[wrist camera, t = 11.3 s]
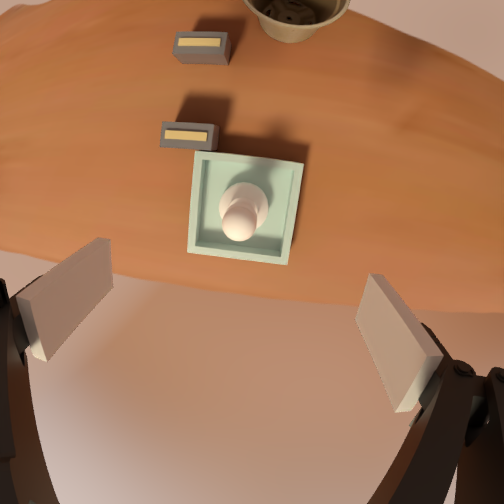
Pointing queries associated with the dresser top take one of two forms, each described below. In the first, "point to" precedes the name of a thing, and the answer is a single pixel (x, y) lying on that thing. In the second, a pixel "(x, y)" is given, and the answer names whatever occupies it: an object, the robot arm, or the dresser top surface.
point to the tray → (236, 171)
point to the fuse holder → (196, 52)
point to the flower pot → (296, 17)
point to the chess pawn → (242, 210)
